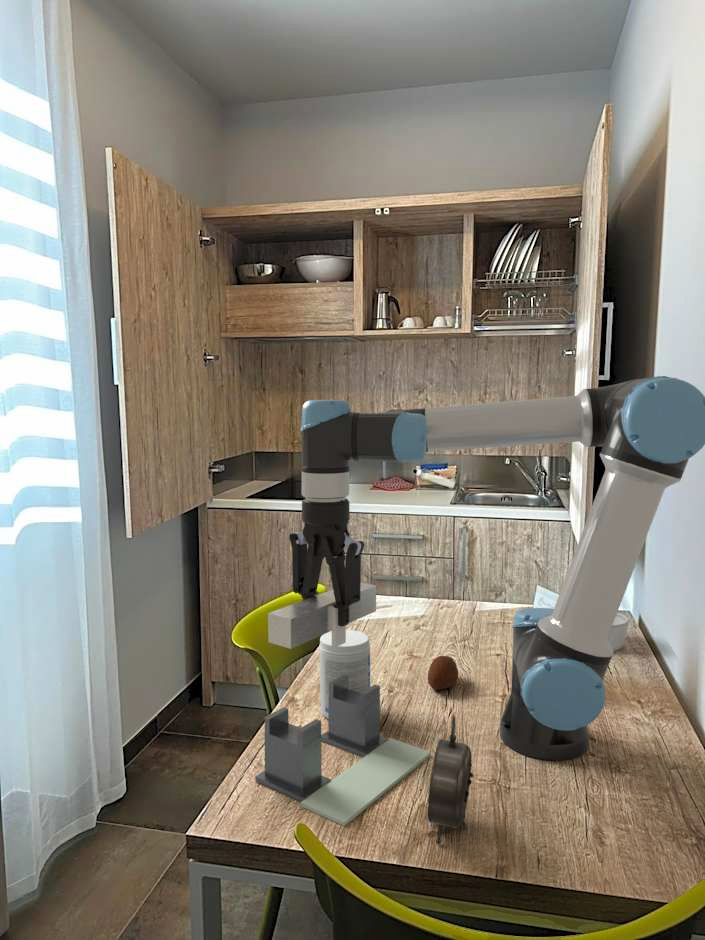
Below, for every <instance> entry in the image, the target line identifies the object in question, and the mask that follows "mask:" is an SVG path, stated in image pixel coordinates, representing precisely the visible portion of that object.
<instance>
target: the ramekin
mask: <svg viewBox="0 0 705 940" xmlns="http://www.w3.org/2000/svg"><path fill="white" fill-rule="evenodd" d="M628 628H629V618H628V617H627V616H626V615H624V614H622V613H620V612H617V614H616V617H615V619H614V622H613V625H612V627H611V630H610V632H609V635H608V640H609V642H610V644H611V647H612V649H613V652H614V651H615V652H616V651H619V650H620V649H622V648H623V646H624V644H625V642H626V636H627V630H628Z"/></svg>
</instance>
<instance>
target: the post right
mask: <svg viewBox="0 0 705 940" xmlns="http://www.w3.org/2000/svg"><path fill="white" fill-rule="evenodd" d="M327 719H328V720H327V721H328V730H327V731H326V732H324V733H323V734H321V742H323V743H326V744H328V745H331V746H333V747H336V748H338V749H341V750H344V751H346V752H349V753H352V754H354V755H356V756H360V757H361V758H363V757H365V756H366V755H368V754H369V753H370V752H372V751H373V750H375V749H376V748H377V747H379V746H380V745H382V744H383V743H384V742H386V741H387V740H389V738H387V737H385V736H382V735H380V734H381V731H380V730H381V728H380V727H381V722H380V721H381V720H380V719H381V685H380V684H379V685H378V684H373V685H372V686H370V688H368V689H366V690H365V691H363V692H361V693H359V692H356V691H352V690H349V676H346V675H343V676H341V677H339V678H337V679H335V680H334V681H332V682H330V683H329V696H328V718H327Z"/></svg>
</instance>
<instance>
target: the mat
mask: <svg viewBox="0 0 705 940" xmlns="http://www.w3.org/2000/svg"><path fill="white" fill-rule="evenodd" d="M430 757H431V751H429V750H425V749H422V748H420V747H417V746H414V745H412V744H408V743H406V742H402V741H400V740H398V739H394V738H391V737H389V738H388V740H387V741H386V742H384V743H383V744H382V745H380V746H379V747H377V748H376V749H375V750H373V751H372V752H370V753H369V754H368V755H366V756H365V757H361V758H360V759H359V760H357V762H355V763H354V764H352V765H351V766H349V767H348V768H347V769H345V770H344V771H343V772H341V773H339V774H338V775H336V777H334V778H332V779H331V781H330V782H328V783H327V784H326V785H324V786H323V787H321V788H320V789H319V790H317V791H316V792H315V793H313V794H312V795H310V796H309V797H308V798H306V799H305V800H303V801H302V802H300V807H301V808H304V809H306V810H308V811H311V813H314V814H317V815H319V816H322V817H323V818H325V819H327V820H330V821H332V822H334V823H336V824H339V825H341V826H343V827H345V826H346V825H348V824H349V823H350V822H351V821H353V820H354V819H355V818H356V817H357V816H359V815H360V814H361V813H362V812H364V811H365V810H366V809H367V808H368V807H370V806H371V805H372V804H373V803H374V802H376V801H377V800H378V799H380V798H381V797H382V796H383V795H385V794H386V793H387V792H388V791H389V790H391V789H392V788H394V786H396V785H397V784H398V783H399V782H400V781H401V780H403V779H404V778H405V777H407V776H408V775H409V774H410V773H411V772H412V771H413V770H415V769H416V768H417V767H419V766H420V765H421V764H422V763H424V762H425V760H427V759H428V758H430Z"/></svg>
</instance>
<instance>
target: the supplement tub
mask: <svg viewBox="0 0 705 940" xmlns="http://www.w3.org/2000/svg"><path fill="white" fill-rule="evenodd" d="M318 648H319V653H318V655H319V657H318V658H319V706H320V707H319V708H320V712H321V714H322V716H323V717H324V718H326V719H328V696H329V683H330V682H332V681H334V680H335V679H337V678H339V677H341V676H343V675H346V676H349V690H352V691H356V692H359V693H361V692H363V691H365V690H366V689H368V688H370V687H371V644H370V637H369V635H367V634H366V633H364V632H362V631H358V630H353V629H352V630H350V629H346V643H344V644H342V645H339V646H337V647H332V631H330V632H328V633H326V634H323V635H321V636H320V638H319V647H318Z"/></svg>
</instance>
